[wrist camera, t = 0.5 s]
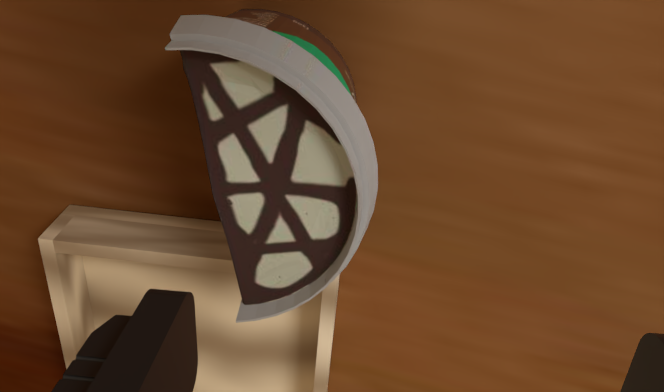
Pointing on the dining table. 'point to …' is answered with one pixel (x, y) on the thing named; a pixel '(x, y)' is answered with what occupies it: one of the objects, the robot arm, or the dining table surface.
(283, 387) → the whitewashed wooden tray
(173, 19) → the dining table surface
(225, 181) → the food container
